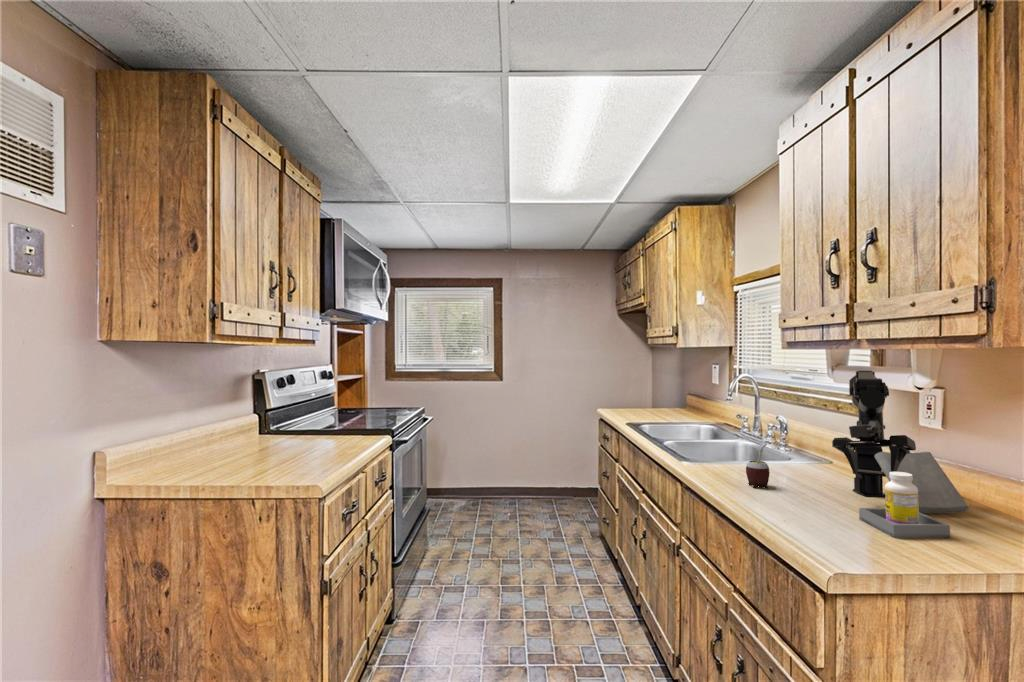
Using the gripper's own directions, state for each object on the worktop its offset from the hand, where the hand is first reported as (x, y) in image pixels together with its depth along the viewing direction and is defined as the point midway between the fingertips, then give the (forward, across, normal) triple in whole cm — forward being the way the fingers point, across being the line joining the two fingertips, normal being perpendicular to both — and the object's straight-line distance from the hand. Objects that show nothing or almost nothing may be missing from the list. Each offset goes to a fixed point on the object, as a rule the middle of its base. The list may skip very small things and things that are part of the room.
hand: (873, 474), depth 141 cm
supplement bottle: (+14, +7, -3) cm, 16 cm away
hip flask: (+6, +9, +14) cm, 18 cm away
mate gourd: (+4, -34, +2) cm, 34 cm away
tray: (+14, +7, -3) cm, 16 cm away
